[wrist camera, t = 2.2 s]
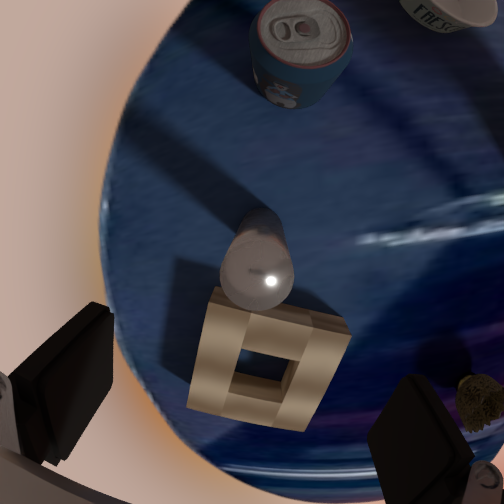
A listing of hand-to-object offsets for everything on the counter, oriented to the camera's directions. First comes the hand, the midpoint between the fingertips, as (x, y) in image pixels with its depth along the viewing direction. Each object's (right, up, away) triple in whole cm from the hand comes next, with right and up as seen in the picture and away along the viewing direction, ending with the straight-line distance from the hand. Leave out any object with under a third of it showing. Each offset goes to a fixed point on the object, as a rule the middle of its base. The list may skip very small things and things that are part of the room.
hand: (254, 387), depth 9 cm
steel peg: (+1, +6, +22) cm, 23 cm away
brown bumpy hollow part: (+30, -14, +26) cm, 42 cm away
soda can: (+4, +21, +18) cm, 28 cm away
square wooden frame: (+1, -8, +25) cm, 27 cm away
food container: (+20, +33, +14) cm, 41 cm away
